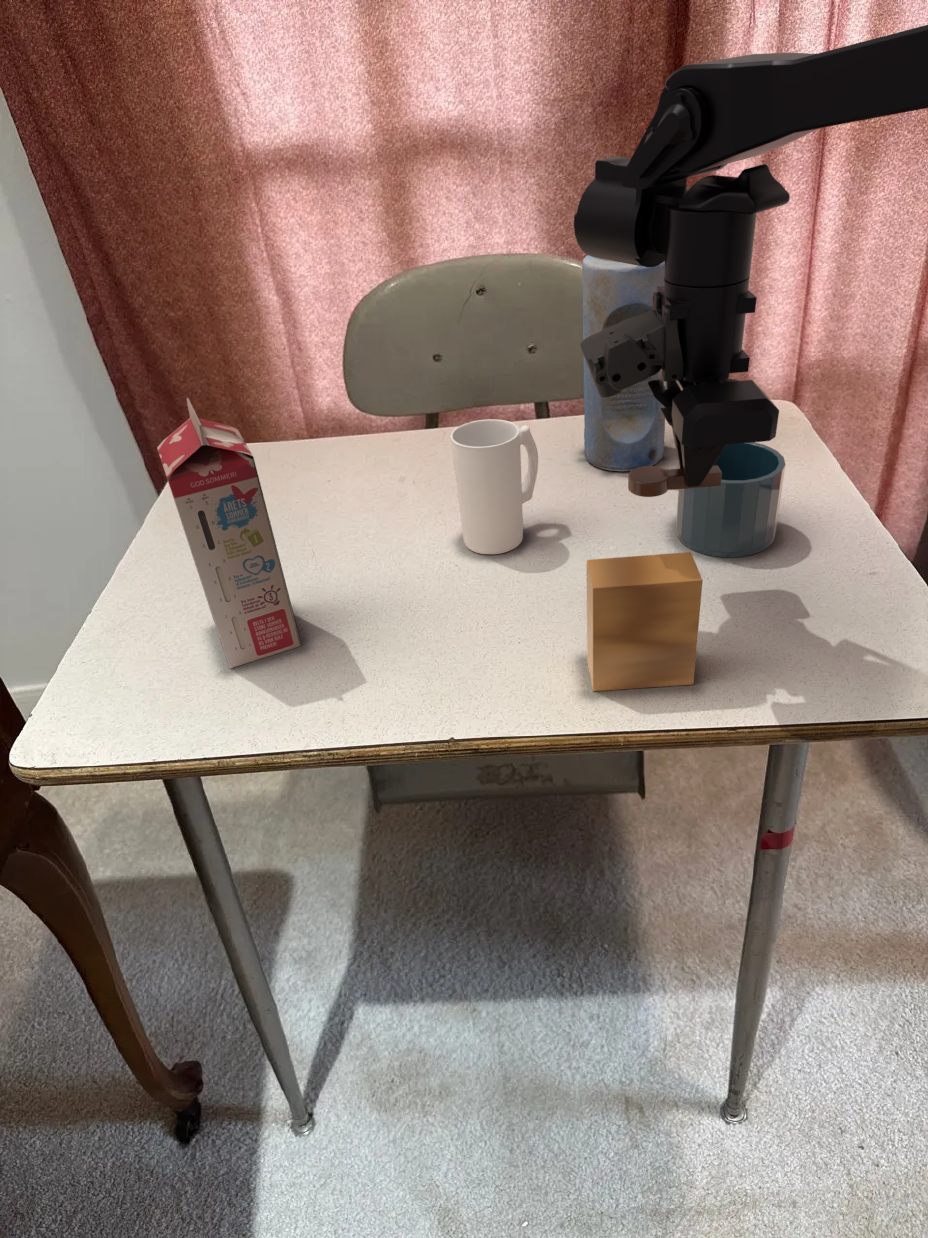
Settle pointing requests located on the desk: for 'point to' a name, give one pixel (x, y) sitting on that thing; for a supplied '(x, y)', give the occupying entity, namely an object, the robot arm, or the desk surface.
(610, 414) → the bottle
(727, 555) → the crock
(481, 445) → the mug
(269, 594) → the juice carton
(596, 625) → the wooden block
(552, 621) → the desk surface
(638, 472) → the brown disc handle
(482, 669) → the desk surface
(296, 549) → the desk surface
